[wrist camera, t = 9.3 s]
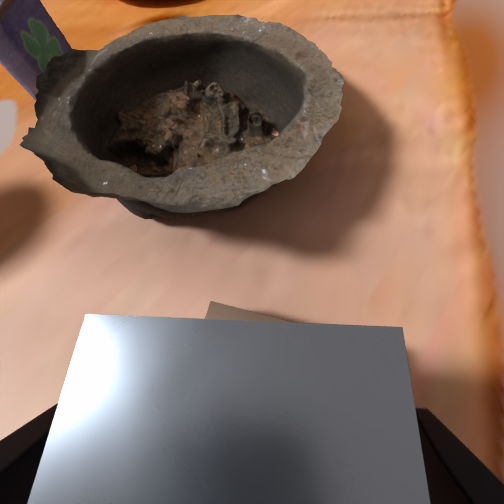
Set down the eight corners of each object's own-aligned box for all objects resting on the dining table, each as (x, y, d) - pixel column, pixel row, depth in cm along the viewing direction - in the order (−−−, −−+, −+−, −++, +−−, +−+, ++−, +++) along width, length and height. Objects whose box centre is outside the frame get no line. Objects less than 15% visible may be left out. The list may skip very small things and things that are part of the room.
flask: (67, 118, 33) (-39, 1, 22) (44, 120, 33) (-71, 7, 23) (90, 65, 37) (9, -56, 26) (69, 67, 37) (-19, -51, 27)
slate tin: (328, 493, 13) (522, 1079, 2) (208, 478, 14) (-80, 849, 3) (322, 359, 15) (402, 327, 5) (221, 353, 16) (85, 313, 5)
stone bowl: (53, 248, 25) (-60, 180, 17) (147, 85, 36) (104, -5, 28) (323, 281, 20) (343, 207, 12) (338, 80, 31) (354, -30, 23)
